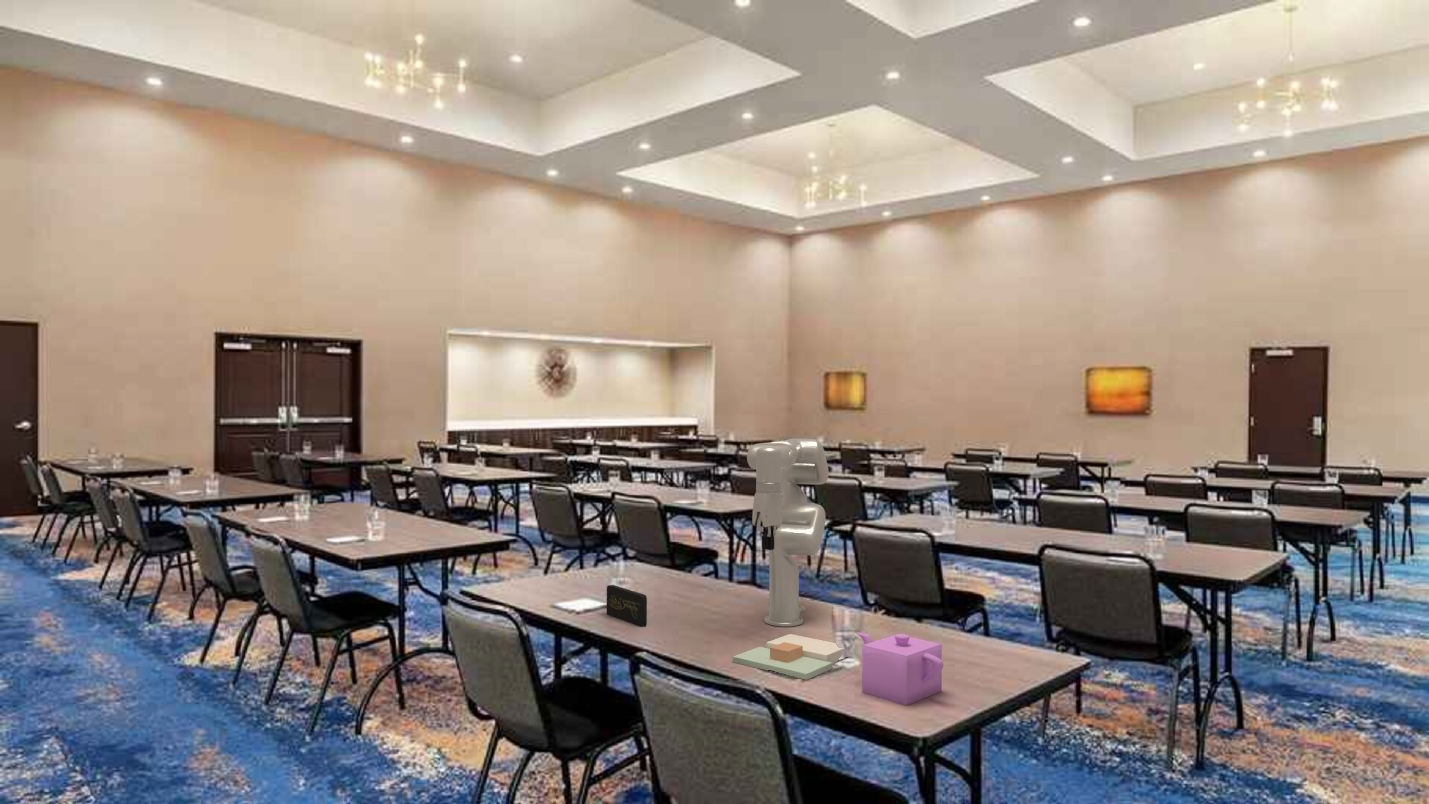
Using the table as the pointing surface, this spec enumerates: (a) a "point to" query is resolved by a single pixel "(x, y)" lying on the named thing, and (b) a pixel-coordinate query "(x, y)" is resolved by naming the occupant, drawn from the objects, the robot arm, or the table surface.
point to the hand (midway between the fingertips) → (768, 549)
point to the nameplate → (627, 605)
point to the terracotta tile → (786, 652)
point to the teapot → (901, 668)
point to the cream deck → (811, 647)
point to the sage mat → (783, 663)
